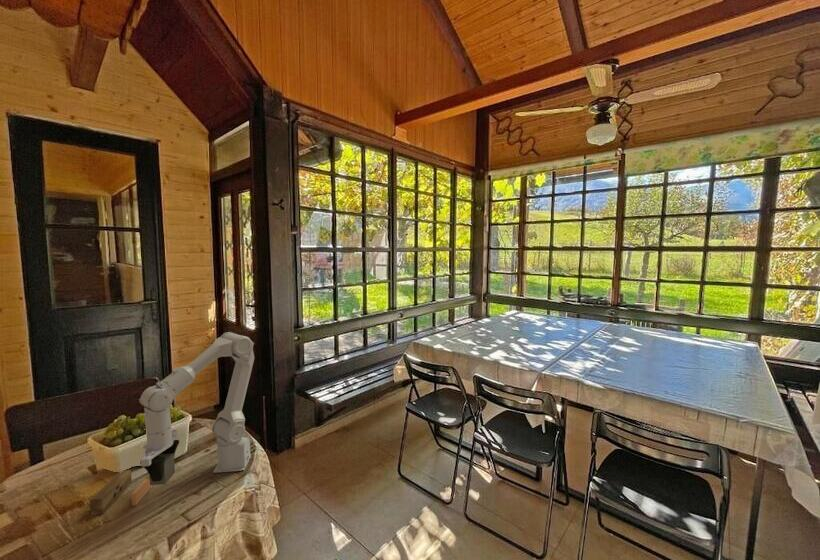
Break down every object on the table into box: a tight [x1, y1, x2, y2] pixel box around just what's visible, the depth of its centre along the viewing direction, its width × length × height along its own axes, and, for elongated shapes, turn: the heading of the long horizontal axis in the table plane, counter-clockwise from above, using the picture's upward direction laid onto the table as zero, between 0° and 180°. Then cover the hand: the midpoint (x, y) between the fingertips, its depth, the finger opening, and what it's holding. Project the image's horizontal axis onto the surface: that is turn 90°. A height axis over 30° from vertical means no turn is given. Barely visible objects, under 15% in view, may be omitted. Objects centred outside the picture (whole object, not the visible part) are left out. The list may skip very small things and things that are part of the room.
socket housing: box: [89, 469, 133, 516], centre depth 101 cm, size 3×12×4 cm, turn 8°
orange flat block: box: [130, 474, 154, 506], centre depth 102 cm, size 1×8×4 cm, turn 8°
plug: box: [144, 453, 176, 486], centre depth 99 cm, size 6×5×6 cm
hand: (162, 473), depth 100 cm, fingers closed on plug, 5 cm apart
